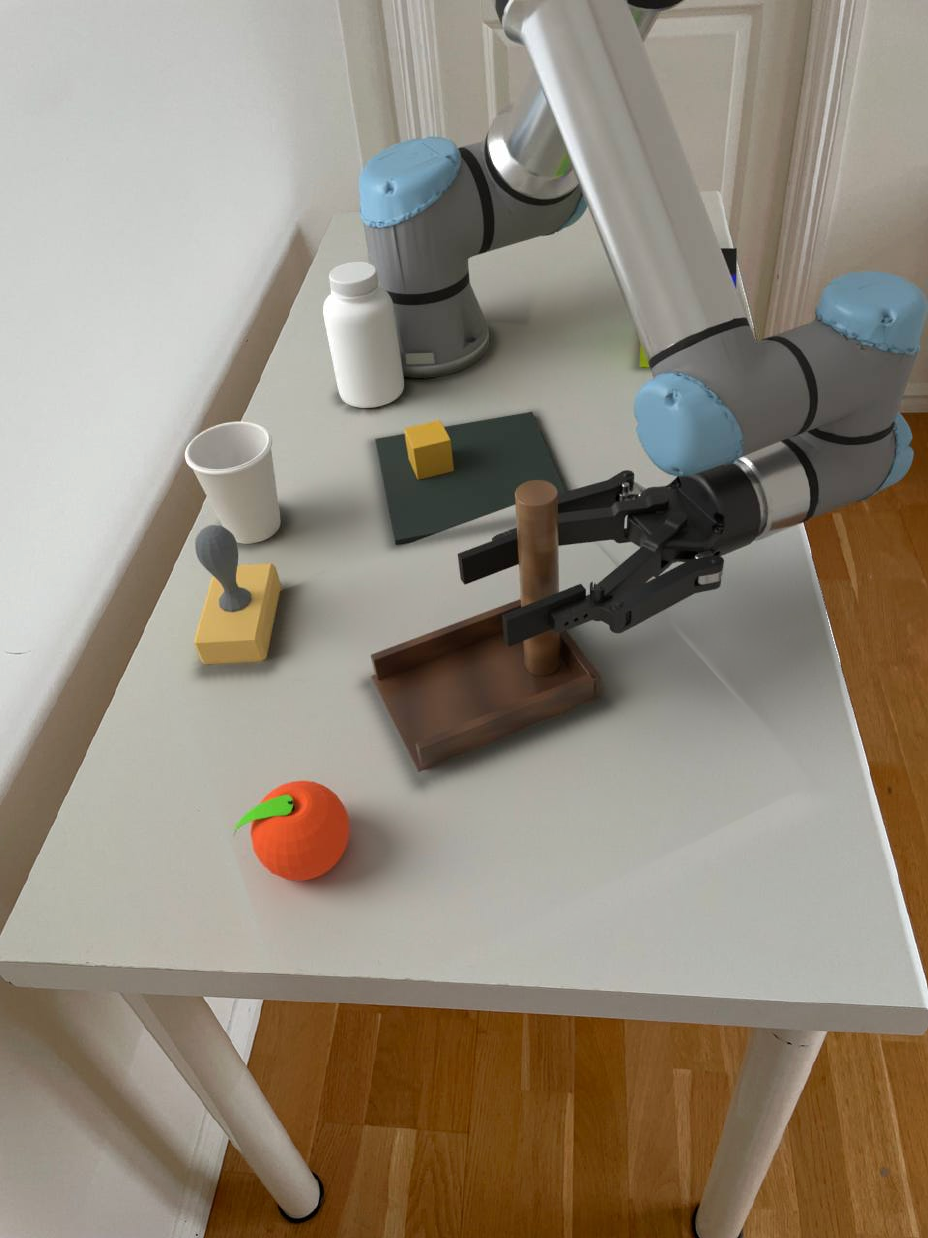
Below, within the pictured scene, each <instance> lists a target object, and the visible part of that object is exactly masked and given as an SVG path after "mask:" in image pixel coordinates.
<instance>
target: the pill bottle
mask: <svg viewBox="0 0 928 1238" xmlns="http://www.w3.org/2000/svg"><path fill="white" fill-rule="evenodd" d="M328 281H329V286H330V294H329V295H328V296H327V297H326V298H325V300H324V303H323V307H322V315H323V320H324V327H325V331H326V336H327V340H328V345H329V350H330V355H331V360H332V365H333V370H334V375H335V380H336V385H337V391H338V393H339V397H340V398H341V400H342V402H344V403H345V404H347V405H348V406H351V407H354V408H359V409H370V408H378V407H382V406H384V405H388V404H390V403H392V402H394V401H396V400H397V399H398V398H400V396H401V395H402V394H403V392H404V389H405V379H404V378H405V377H403V370H402V363H401V356H400V349H399V342H398V335H397V328H396V321H395V314H394V307H393V302H392V299H391V297H390V295H389V294H388V292H387V291H385V290H384V289H383V288H381V287H379V286H378V274H377V269H376V268H375V267H374V266H373V265H372V264H370V262H365V261H351V262H350V261H349V262H346V263H343V264H342V263H341V264H340V265H337V266H335V267H333V268H332V269H331V271H330V272H329V274H328Z"/></svg>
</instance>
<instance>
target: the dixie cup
mask: <svg viewBox="0 0 928 1238" xmlns="http://www.w3.org/2000/svg"><path fill="white" fill-rule="evenodd" d="M272 437H273V436H272V435H271V432H270V431H269V430H268V429H267V428H265V427H264V426H262V425H260V424H257V423H254V422H250V421H229V422H224V423H220V424H216V425H214V426H211V427H209V428H207V429H205V430H203V431H201V432H200V433H199V434H197V435H196V436H195V437H193V438H192V440H190V442H189V443H188V445H187V447H186V449H185V452H184V458H185V462H186V464H187V465H188V467H190V469H192V470H193V472H194V474H195V476H196V478H197V480H198V483H199V484H200V486H201V488H202V490H203V492H204V494H205V496H206V497H207V499H208V501H209V504H210V505H211V507H212V509H213V511H214V512H215V514H216V516H217V518H218V520H219V522H220V524H221V526H223V527H224V528H226V529H227V530H229V531H230V532H231V533H232V534H233V535H234V537H235V539H236V542H237V544H244V545H250V544H257V543H260V542H263V541H266V540H267V539H270V538H271V537H273V535H275V534H276V533H277V531H278V530H279V529H280V528H281V521H282V520H281V511H280V503H279V498H278V491H277V483H276V481H277V480H276V475H275V467H274V460H273V459H274V458H273V452H272V446H273V438H272Z"/></svg>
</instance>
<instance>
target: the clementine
mask: <svg viewBox="0 0 928 1238" xmlns="http://www.w3.org/2000/svg"><path fill="white" fill-rule="evenodd" d="M247 823H251V825H250V833H249V834H250V839H251V843H252V848H253V852H254V854H255V856H256V857H257V859H258V860H259V862H260V863H261V865H262V866H263V867H264V868H266V869H267V871H269V872H270V873H271V874H273V875H275V876H278V877H280V878H282V879H285V880H287V881H296V882H301V881H310V880H313V879H316V878H319V877H321V876H322V875H324V874H326V873H328V872H329V871H331V869H333V868H334V867H335V866H336V865H337V864H338V862H339V861H340V860H341V858H342V857H343V854H344V853H345V851H346V849H347V846H348V843H349V839H350V817H349V815H348V811H347V808H346V807H345V804H344V803H343V802H342V801H341V799H340V798H339V796H338V795H337V794H336V793H335V792H334V791H332V790H331V789H329V788H328V787H327V786H325V785H323V784H321V783H318V782H315V781H311V780H296V781H290V782H287V783H284V784H281V785H279V786H278V787H276V788H274V789H272V790H271V791H270V792H268V793H267V795H265V796H264V797H263V798H262V800H261V801H260V802H259V804H258V805H256V806H254V807H253V808H251V809H250V810H249V811H247V812H246V813H245V814H244V815H243V816H242V817H241V818H240V819H239V821H238V822H237V823H236V825H235V828H234V832H233V837H235V835H236V833H237V830H238V829H240V828H241V827H242V826H243V825H245V824H247Z"/></svg>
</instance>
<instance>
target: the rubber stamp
mask: <svg viewBox="0 0 928 1238" xmlns="http://www.w3.org/2000/svg"><path fill="white" fill-rule="evenodd" d="M194 546H195V547H194V549H195V554H196V557H197V560H198V561H199V563H200V564H201V565H202V566H203V568H204V569H205V570H206V571H208V573H210V575H211V579H210V583H209V586H208V590H207V593H206V597H205V600H204V603H203V606H202V610H201V614H200V619H199V622H198V625H197V627H196V632H195V636H194V640H193V645H194V647H195V650H196V652H197V654H198V657H199V659H200V662H201V663H202V664H203V665H214V664H233V663H234V664H236V663H251V662H263V661H264V660H266V659H267V657H268V652H269V648H270V643H271V637H272V632H273V627H274V622H275V618H276V613H277V609H278V602H279V598H280V594H281V593H280V592H281V591H283V587H282V583H281V579H280V576H279V574H278V570H277V566H276V565H274V564H273V563H272V562H267V563H264V562H263V563H251V564H239V548H238V543H237V542H236V539H235V537H234V535H233V534H232V533H231V532H230V531H229V530H227V529H226V528H224V527H223V526H222V525H217V524H211V525H206V526H204V527H203V528H202V529H201V530H200V531H199V532H198V533H197V535H196V537H195V539H194Z"/></svg>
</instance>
